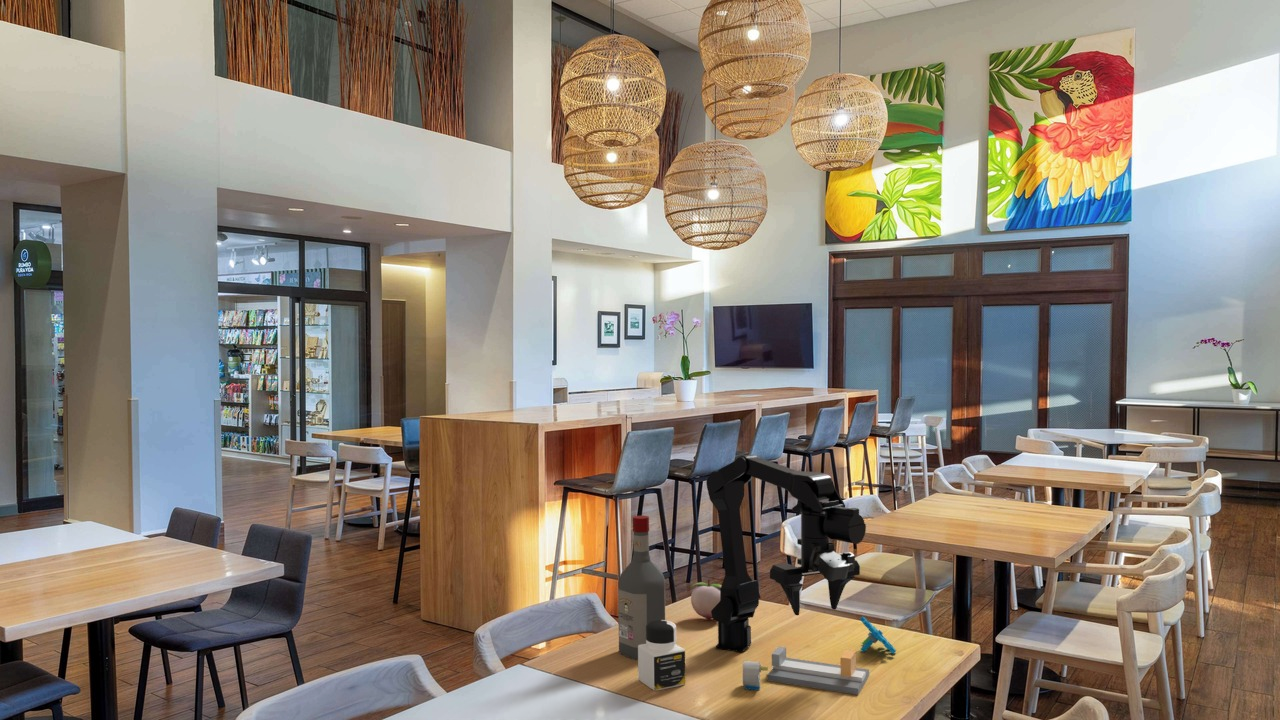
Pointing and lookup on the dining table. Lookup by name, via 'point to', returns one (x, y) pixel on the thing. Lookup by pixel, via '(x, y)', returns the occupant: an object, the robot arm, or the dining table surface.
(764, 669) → the electric motor
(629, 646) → the liquor
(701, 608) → the decorative fruit
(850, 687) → the rail
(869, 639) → the gear
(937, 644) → the dining table surface
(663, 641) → the medicine bottle
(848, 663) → the tall tan wooden block
